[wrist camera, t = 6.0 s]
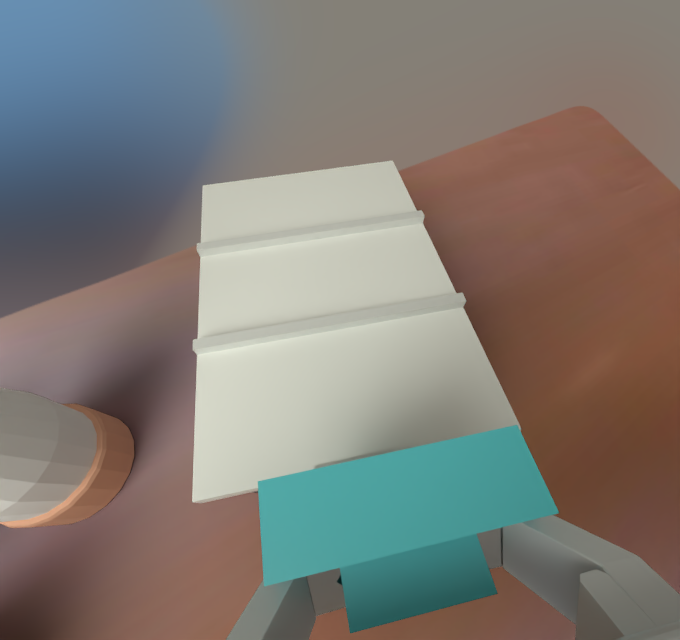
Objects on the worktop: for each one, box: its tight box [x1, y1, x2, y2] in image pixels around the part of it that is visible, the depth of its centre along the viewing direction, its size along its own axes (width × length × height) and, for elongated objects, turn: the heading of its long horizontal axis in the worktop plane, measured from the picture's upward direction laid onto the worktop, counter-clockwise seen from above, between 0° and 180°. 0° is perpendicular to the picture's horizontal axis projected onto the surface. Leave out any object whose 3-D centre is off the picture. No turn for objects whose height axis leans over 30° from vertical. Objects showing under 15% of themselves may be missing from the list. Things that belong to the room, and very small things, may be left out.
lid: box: [192, 161, 559, 633], centre depth 16 cm, size 15×25×9 cm, turn 11°
